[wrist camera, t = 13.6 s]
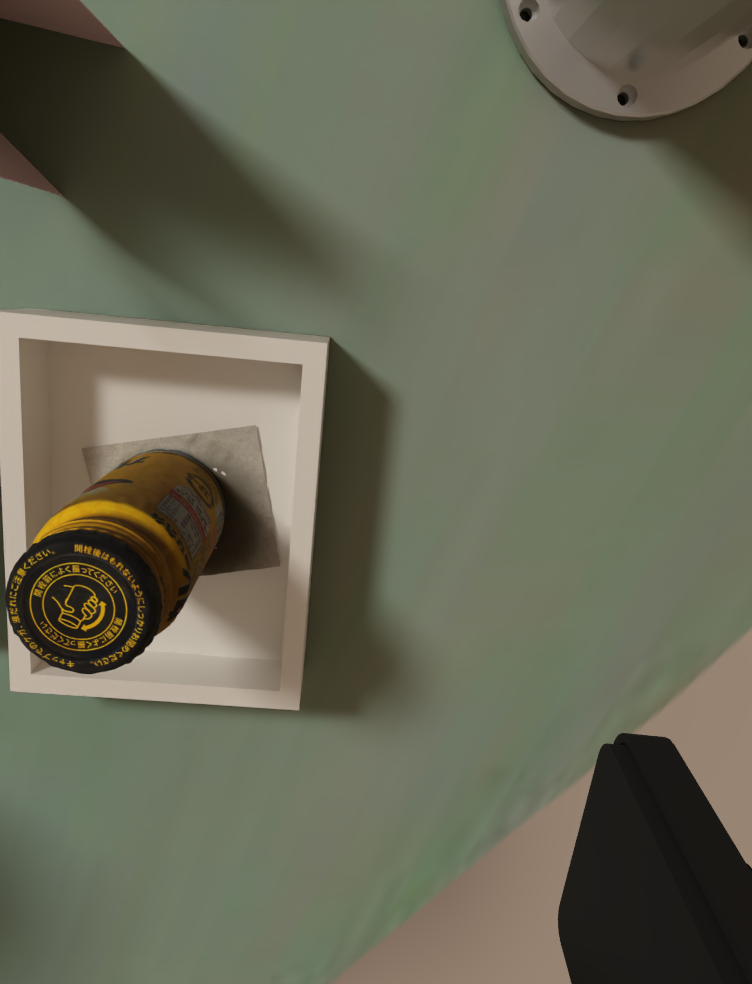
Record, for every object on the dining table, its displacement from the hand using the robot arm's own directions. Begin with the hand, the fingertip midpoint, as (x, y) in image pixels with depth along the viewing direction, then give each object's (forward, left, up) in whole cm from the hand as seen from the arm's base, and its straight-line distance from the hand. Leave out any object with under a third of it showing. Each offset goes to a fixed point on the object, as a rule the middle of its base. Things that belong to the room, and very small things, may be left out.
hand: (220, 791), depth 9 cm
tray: (+5, -7, -28) cm, 29 cm away
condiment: (+5, -6, -27) cm, 28 cm away
